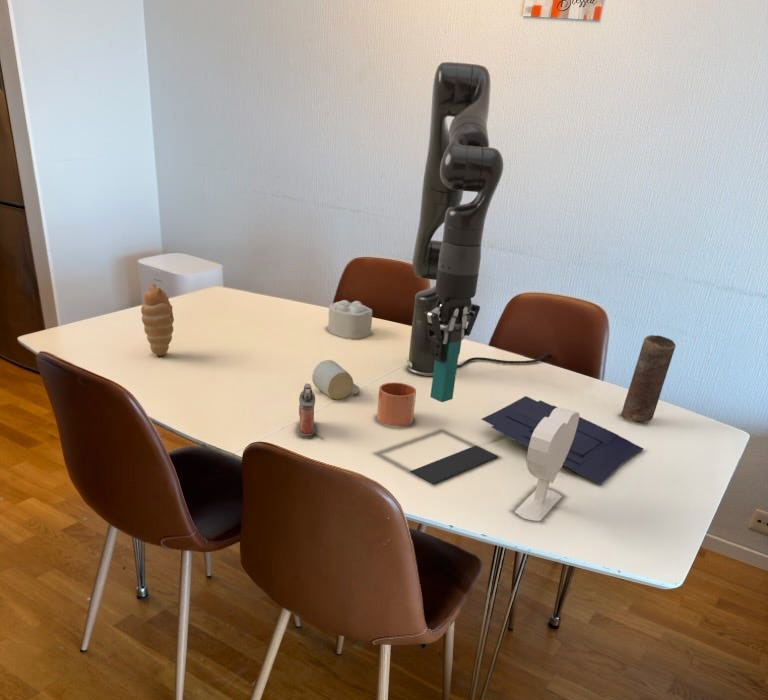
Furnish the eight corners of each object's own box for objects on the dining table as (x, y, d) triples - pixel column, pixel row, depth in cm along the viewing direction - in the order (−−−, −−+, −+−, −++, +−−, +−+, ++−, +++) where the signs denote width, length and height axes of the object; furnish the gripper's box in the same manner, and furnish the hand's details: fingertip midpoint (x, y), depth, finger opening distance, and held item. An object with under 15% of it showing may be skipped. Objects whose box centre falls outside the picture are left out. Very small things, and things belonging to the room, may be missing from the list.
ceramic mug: (328, 403, 167) (330, 372, 163) (310, 391, 173) (312, 361, 169) (365, 397, 173) (368, 367, 169) (347, 385, 178) (349, 356, 174)
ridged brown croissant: (181, 359, 185) (176, 288, 175) (151, 362, 181) (144, 290, 171) (169, 348, 191) (164, 279, 181) (139, 351, 187) (133, 281, 177)
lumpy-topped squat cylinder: (354, 340, 209) (356, 311, 205) (320, 330, 215) (321, 301, 210) (374, 333, 217) (377, 304, 212) (340, 323, 222) (342, 295, 218)
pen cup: (394, 410, 167) (397, 380, 163) (420, 422, 162) (423, 391, 159) (369, 418, 162) (371, 387, 158) (394, 430, 157) (397, 399, 153)
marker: (440, 394, 145) (449, 325, 137) (452, 399, 143) (462, 330, 136) (430, 397, 143) (438, 328, 135) (441, 402, 141) (451, 332, 134)
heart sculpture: (541, 484, 141) (560, 399, 132) (565, 492, 139) (586, 407, 130) (510, 516, 130) (528, 425, 120) (535, 525, 128) (556, 434, 118)
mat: (441, 430, 160) (442, 429, 159) (497, 457, 150) (498, 455, 150) (377, 453, 147) (377, 451, 147) (433, 484, 138) (433, 482, 137)
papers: (526, 404, 174) (530, 390, 172) (639, 458, 161) (645, 444, 159) (473, 432, 157) (477, 417, 155) (595, 495, 144) (601, 481, 142)
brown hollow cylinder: (652, 417, 177) (676, 338, 166) (652, 428, 171) (676, 347, 160) (621, 410, 179) (642, 332, 168) (619, 421, 173) (642, 340, 162)
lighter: (298, 422, 157) (299, 379, 152) (314, 422, 158) (315, 379, 152) (298, 438, 150) (299, 393, 145) (314, 438, 151) (315, 394, 146)
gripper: (448, 276, 123) (436, 372, 132) (498, 269, 132) (484, 359, 141) (416, 267, 128) (407, 360, 136) (467, 260, 136) (455, 348, 145)
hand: (446, 359), depth 139 cm, fingers closed on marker, 3 cm apart
